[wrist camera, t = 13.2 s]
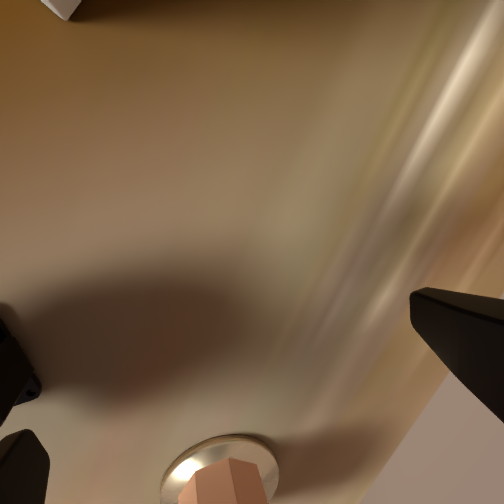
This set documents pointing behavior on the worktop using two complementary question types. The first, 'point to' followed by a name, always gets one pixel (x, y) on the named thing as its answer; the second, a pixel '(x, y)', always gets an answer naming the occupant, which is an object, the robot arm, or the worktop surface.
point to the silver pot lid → (215, 452)
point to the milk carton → (62, 7)
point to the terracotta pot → (225, 484)
